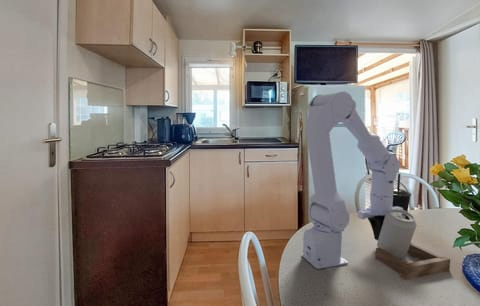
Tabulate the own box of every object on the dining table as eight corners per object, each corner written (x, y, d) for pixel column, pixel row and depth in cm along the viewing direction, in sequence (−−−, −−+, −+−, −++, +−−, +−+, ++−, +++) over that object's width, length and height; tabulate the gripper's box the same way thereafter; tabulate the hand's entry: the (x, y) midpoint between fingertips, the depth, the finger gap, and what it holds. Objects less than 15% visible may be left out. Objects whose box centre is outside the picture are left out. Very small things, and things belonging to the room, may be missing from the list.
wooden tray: (405, 279, 66) (406, 267, 66) (372, 259, 76) (373, 248, 76) (449, 270, 70) (450, 259, 70) (412, 252, 80) (413, 242, 80)
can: (411, 261, 75) (424, 223, 71) (383, 259, 75) (394, 221, 71) (397, 243, 82) (408, 208, 78) (371, 241, 82) (381, 205, 78)
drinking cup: (412, 237, 91) (416, 176, 89) (386, 235, 92) (390, 175, 90) (403, 228, 98) (407, 172, 96) (380, 227, 100) (383, 171, 98)
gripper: (390, 189, 87) (388, 232, 89) (351, 193, 83) (349, 237, 84) (410, 195, 81) (407, 240, 82) (369, 199, 76) (366, 247, 78)
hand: (379, 239), depth 83 cm, fingers closed, pressing on can
